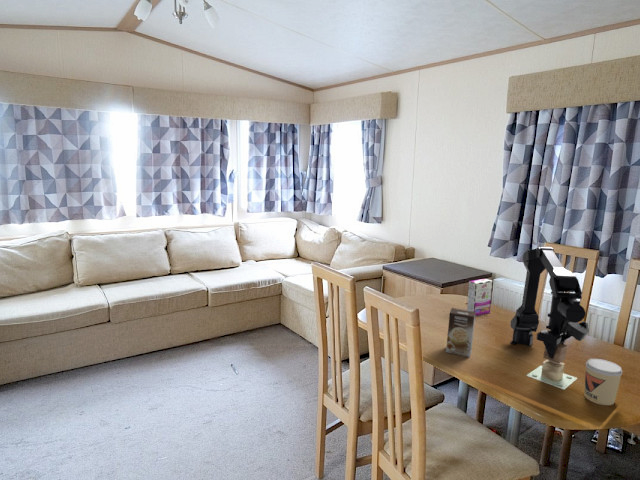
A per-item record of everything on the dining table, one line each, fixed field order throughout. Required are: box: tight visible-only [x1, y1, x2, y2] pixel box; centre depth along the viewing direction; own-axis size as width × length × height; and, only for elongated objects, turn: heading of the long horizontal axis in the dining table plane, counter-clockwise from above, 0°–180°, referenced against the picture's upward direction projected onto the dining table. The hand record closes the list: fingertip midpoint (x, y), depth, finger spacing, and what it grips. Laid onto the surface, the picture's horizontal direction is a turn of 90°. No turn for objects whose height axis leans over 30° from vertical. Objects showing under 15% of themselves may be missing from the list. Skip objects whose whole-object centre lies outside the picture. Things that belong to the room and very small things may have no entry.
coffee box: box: [445, 307, 476, 358], centre depth 167 cm, size 9×6×16 cm
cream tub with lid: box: [583, 358, 623, 406], centre depth 134 cm, size 9×9×12 cm
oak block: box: [541, 359, 565, 382], centre depth 147 cm, size 5×5×5 cm
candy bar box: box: [466, 278, 493, 317], centre depth 211 cm, size 11×5×16 cm, turn 117°
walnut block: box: [543, 343, 568, 363], centre depth 146 cm, size 5×5×5 cm
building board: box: [525, 365, 578, 390], centre depth 148 cm, size 12×12×1 cm
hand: (554, 355), depth 147 cm, fingers closed on walnut block, 5 cm apart
